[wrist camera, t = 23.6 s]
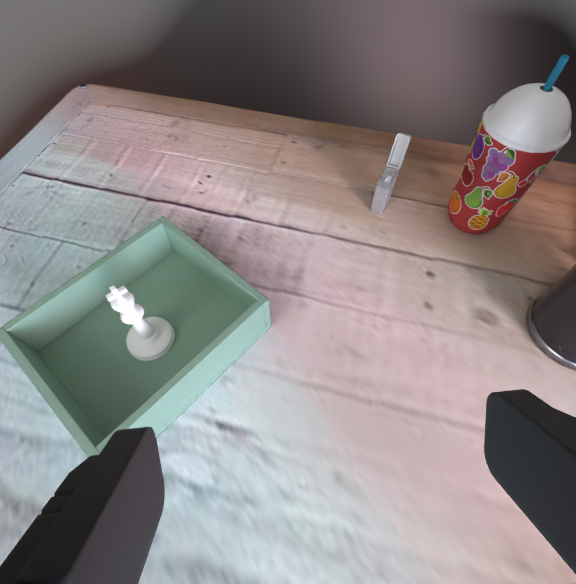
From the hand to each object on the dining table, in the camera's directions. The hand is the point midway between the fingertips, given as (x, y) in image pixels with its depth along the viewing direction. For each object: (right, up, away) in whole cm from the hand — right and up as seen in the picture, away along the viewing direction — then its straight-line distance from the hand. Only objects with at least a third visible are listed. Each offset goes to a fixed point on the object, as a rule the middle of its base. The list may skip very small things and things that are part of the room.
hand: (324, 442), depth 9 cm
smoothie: (+23, +13, +40) cm, 48 cm away
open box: (-15, -2, +31) cm, 35 cm away
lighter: (+13, +17, +43) cm, 48 cm away
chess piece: (-15, -2, +30) cm, 34 cm away
